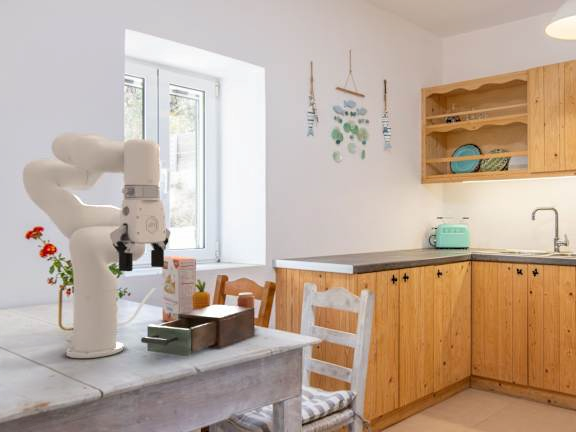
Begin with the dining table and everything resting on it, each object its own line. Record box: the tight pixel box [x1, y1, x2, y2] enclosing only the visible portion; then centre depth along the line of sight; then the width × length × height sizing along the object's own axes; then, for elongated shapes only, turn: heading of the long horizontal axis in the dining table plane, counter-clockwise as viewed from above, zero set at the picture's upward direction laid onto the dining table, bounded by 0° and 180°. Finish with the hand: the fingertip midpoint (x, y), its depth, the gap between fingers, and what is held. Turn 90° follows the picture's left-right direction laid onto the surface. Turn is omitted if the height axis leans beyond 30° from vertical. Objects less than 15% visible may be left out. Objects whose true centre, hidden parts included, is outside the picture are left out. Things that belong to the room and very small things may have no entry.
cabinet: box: [178, 304, 256, 350], centre depth 146 cm, size 16×14×8 cm
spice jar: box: [236, 291, 255, 308], centre depth 158 cm, size 5×5×11 cm
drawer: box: [140, 317, 218, 357], centre depth 133 cm, size 19×12×6 cm, turn 160°
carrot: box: [193, 279, 211, 310], centre depth 159 cm, size 5×5×15 cm
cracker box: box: [161, 255, 197, 322], centre depth 168 cm, size 14×6×21 cm, turn 42°
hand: (142, 268), depth 121 cm, fingers open, 9 cm apart
